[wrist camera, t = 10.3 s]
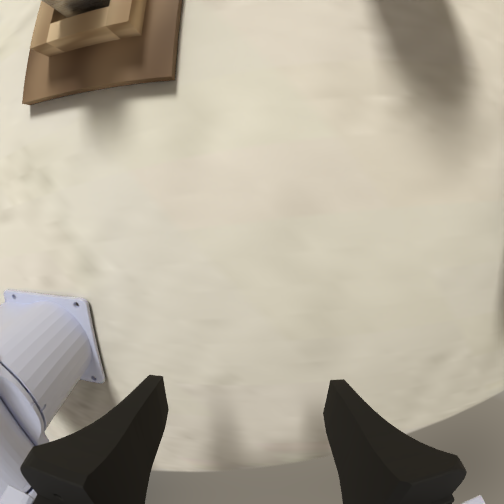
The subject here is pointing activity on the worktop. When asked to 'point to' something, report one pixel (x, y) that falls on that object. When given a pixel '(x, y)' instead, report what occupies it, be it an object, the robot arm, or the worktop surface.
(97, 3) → the brushed grey block
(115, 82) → the slot block
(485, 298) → the worktop surface
